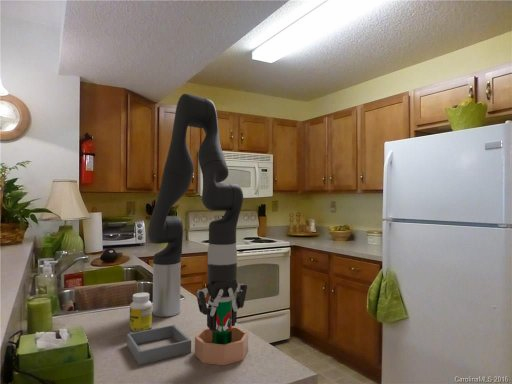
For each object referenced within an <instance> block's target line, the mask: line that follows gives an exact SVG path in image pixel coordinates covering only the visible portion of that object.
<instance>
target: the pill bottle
mask: <svg viewBox="0 0 512 384" xmlns="http://www.w3.org/2000/svg"><path fill="white" fill-rule="evenodd" d="M152 321H153V302H151V301H150V293H149V292H136V293H133V294H132V302H131V303H130V304H129V334H130V333H135V332H140V331H145V330H150V329H153V328H152V325H153V323H152Z"/></svg>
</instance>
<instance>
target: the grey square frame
mask: <svg viewBox="0 0 512 384" xmlns="http://www.w3.org/2000/svg"><path fill="white" fill-rule="evenodd" d="M171 337H173V338H174V339H175V341H177V342H173V343H169V344H168V343H167V344H164V345H160V346H156V347H151V348H148V349H143V350H141V348H140V347H139V344H143V343H149V342H154V341H158V340H161V339H167V338H171ZM126 347H127V348H128V350H129V351H130V353H131V355H132V356H133V358H134V359H135V362H137V364H138V366H141V365H145V364H149V363H152V362H156V361H157V362H158V361H161V360H164V359H169V358H173V357H176V356H181V355H186V354H189V353H192V340H191V339H190V337H188V336H187V335H186V334H185V333H183V331H182V330H180V328H178V327H177V326H176V325H175V324H172V325H166V326H161V327H155V328H152V329H150V330H145V331H140V332H135V333H130V332H129V333H127V334H126Z"/></svg>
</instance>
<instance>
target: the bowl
mask: <svg viewBox="0 0 512 384" xmlns="http://www.w3.org/2000/svg"><path fill="white" fill-rule="evenodd" d="M248 352H249V333H248V331H245V330H244V329H243V328H241V327H239V326H232V341H231V343H228V344H224V345H223V344H214V343H213V342H212V331H211V330H210V329H209V328H208V327H207V328H203V329H201V330H200V331H199V332H198V333H197V334H196V335H195V336H194V355H195V357H196V358H197V359H199V361H201V362H202V363H203V364H208V365H209V364H211V365H218V366H226V365H230V364H234V363H238V362H241V361H244V359H245V358H246V356H247V354H248Z"/></svg>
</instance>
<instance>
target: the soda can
mask: <svg viewBox="0 0 512 384" xmlns="http://www.w3.org/2000/svg"><path fill="white" fill-rule="evenodd" d="M212 302H214V300H212ZM214 316H215V330H214V331H212V342H213V343H214V344H223V345H224V344H228V343H231V341H232V327H233V326H232V300H231V299H230V296H225V297H221V298H220V301H219V302H218V307H217V308H216V311H215V314H214Z"/></svg>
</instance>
